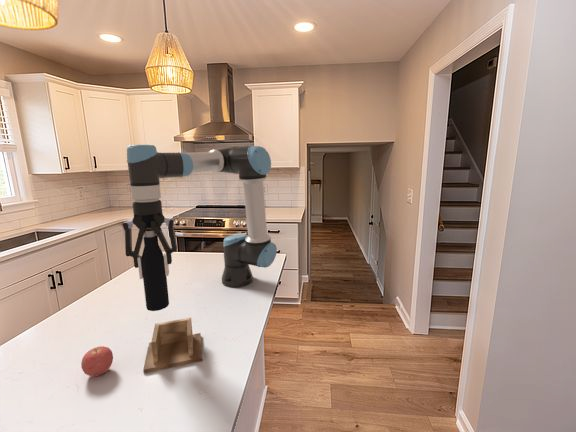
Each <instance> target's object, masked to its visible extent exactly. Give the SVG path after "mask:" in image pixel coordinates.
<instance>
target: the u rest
mask: <svg viewBox="0 0 576 432" xmlns="http://www.w3.org/2000/svg"><path fill="white" fill-rule="evenodd" d="M192 324H193V322H192V317H188V318H187V317H186V318H181V319H175V320H169V321H163V322H158V323H156V322H155V323H154V327H153V333H152V336H151V341H150V342H149V343H148V346H147V351H146V356H145V360H144V365H143V370H142V371H143V374H148V373H153V372H156V371H161V370H165V369H166V370H167V369H171V368H174V367H175V368H177V367H178V366H185V365H189V364H194V363H198V362H202V361H203V352H202V351H203V350H202V348H203V347H202V335H201V334H202V333H201V332H199V333H193V325H192Z"/></svg>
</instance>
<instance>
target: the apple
mask: <svg viewBox="0 0 576 432" xmlns="http://www.w3.org/2000/svg"><path fill="white" fill-rule="evenodd" d="M113 361H114V354H113V351H112V350H111V348H109V347H107V346H101V345H100V346H97V347H93V348H91V349H90V350H88V351H87V352H86V353H85V354H84V355H83V357H82V358H81V362H80V363H81V364H80V365H81V370H82V371H83V373H84V375H87V376H89V377H99V376H102V375H103V374H105V373H107V371H108V370H109V369H110V368H111V366H112V364H113Z"/></svg>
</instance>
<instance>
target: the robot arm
mask: <svg viewBox="0 0 576 432" xmlns="http://www.w3.org/2000/svg"><path fill="white" fill-rule="evenodd" d="M126 163H127V168H128V177H129V183H130V194H131V200H133V201H132V211H133V217H132V220H127V221H124V222H123V223H122V227H123V230H124V239H125V240H124V242H125V244H124V246H125V249H124V250H125V256H126V257H132V258H133V265H134V268H135V269H138V274H139V280H143V273H142V264H141V262H142V254H140V252H141V248H142V245H143V244H142V243H143V241H144V234H145V231H154V232H155V233H156V235H157V236H158V241H159V242H160V243H161V246H162V247H163V250H164V253H163V256H164V264H165V274H166V277H167V276H168V277H169V275H170V268H169V265H171V264H172V261H173V260H172V254H173V253H175V252H177V251H178V245H177V240H176V239H177V238H176V235H175V229H174V224H175V219H174V218H173V217H172V218H168V217H165V216H164V214H163V205H162V200H161V197H162V195H161V187H160V185H161V184H160V183H161V182H160V179H163V178H164V179H165V178H167V179H168V178H183V177H188V176H190V175H192V173H199V172H210V171H211V172H213V173H224V174H225V173H226V174H233V175H234V174H235V175H238V178H239V181H240V182H241V183H242V184H243V185H242V186H243V193H244V194H243V195H244V196H243V197H244V208H245V217H246V226H247V227H246V228H247V234H245V233H240V234H234V235H233V234H232V235H229V236H226V237H225V238H224V239H223V245H222V246H223V247H222V248H223V261H224V269H223V272H222V275H221V284H222V285H223V286H225V287H228V288H229V287H230V288H239V287H245V286H248V285H250V284H251V283H252V282H253V281H254V278H253V277H254V275H253V273H252V271H251V268H250V266H254V267H257V268H269V267H271V265H272V264H273V262H275V259H276V257H277V250H278V248H277V245H276V243H274V242H272V241H271V240H272V237H271V235H270V234H269V233H268V229H267V228H268V227H267V217H266V216H267V215H266V203H265V202H266V201H265V190H264V188H265V187H264V181H265V180H266V179H267V174H269V172H270V171H271V168H272V160H271V156H270V154H269V152H268V150H267V149H266V148H265V147H263V146H260V145H248V146H247V145H246V146H245V145H243V146H231V147H225V148H218V149H216V148H215V149H211V150H210V151H205V152H204V151H201V152H197V151H196V152H178V151H177V152H158V150H157V147H156V146H155V145H153V144H130V145H128V146H127V147H126ZM146 215H154V221H151V228H152V229H146V228H147V225H146V224H147V223H145V222H144V221H142V216H146ZM164 223H165V225H166V226H167V227H168V229H167V230H168V235H169V239H170V245H171V247H170V245H169V243H168V241H167V238H166V237H165V235H164V232H163V230H162V228H161V227H162V225H164ZM134 226H135V227H136V228H137V229H138V233H137V238H136V241H135V246H134V249H133V243H132V242H133V237H132V236H133V235H132V234H133V233H132V232H133V231H132V228H133V227H134Z"/></svg>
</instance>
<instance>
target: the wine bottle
mask: <svg viewBox="0 0 576 432" xmlns="http://www.w3.org/2000/svg"><path fill="white" fill-rule="evenodd" d="M142 221H144V222H145V223H147V224H146V225H147V228H146V229H152V228H151V221H154V215H146V216H142ZM143 245H144V246H143V249H142V250H143V251H142V254H141V255H142V262H141V264H142V273H143V279H142V280H143V288H144V298H145V306H146V307H145V308H146V310H147V311H150V312H157V311H162V310H164V309H166V308H167V307H169V304H170V298H169V297H170V296H169V288H168V280H167V276H166V274H165V264H164V253H163V251H162V249H161V246H160V245H159V238H158V236H157V235H156V233H155V232H154V231H145V233H144V236H143Z"/></svg>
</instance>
